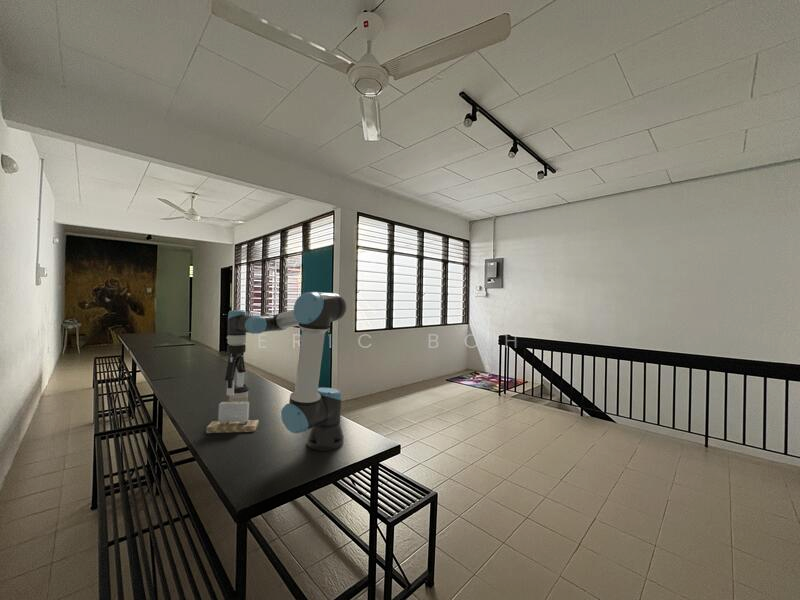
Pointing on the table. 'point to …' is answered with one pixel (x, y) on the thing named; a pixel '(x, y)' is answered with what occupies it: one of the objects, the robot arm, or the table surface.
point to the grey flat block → (233, 412)
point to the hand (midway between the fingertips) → (235, 390)
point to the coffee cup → (239, 394)
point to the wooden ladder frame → (232, 427)
